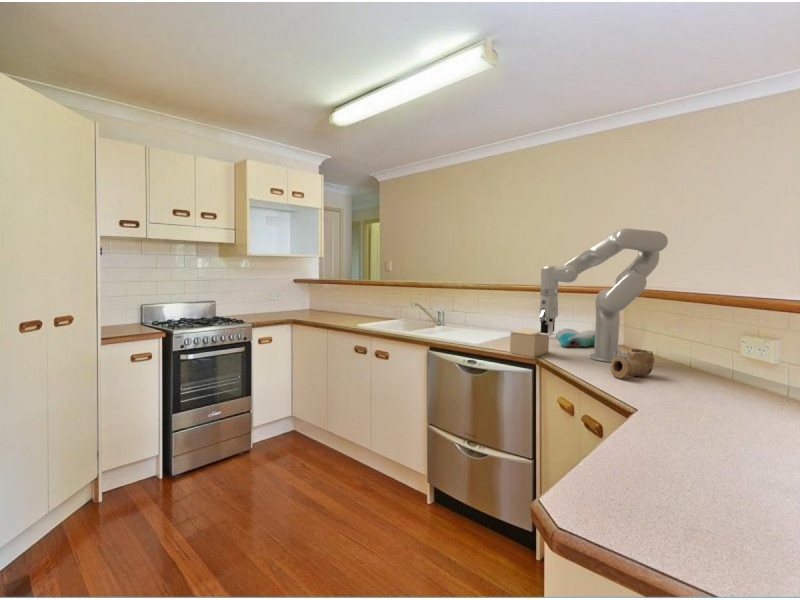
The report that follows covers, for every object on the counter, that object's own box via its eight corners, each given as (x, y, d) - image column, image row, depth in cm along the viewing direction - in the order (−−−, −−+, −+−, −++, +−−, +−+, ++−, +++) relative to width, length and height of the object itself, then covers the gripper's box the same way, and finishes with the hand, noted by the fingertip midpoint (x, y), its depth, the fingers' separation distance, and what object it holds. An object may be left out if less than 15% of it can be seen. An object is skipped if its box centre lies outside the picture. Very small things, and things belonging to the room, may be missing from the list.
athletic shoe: (555, 349, 209) (567, 334, 202) (552, 336, 216) (563, 321, 208) (602, 359, 212) (615, 345, 205) (597, 346, 219) (609, 332, 212)
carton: (548, 352, 196) (549, 332, 195) (533, 357, 185) (534, 336, 185) (525, 348, 205) (525, 329, 204) (510, 353, 194) (510, 333, 193)
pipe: (606, 375, 157) (607, 350, 156) (637, 372, 162) (638, 347, 161) (626, 382, 148) (628, 355, 147) (658, 378, 154) (660, 351, 153)
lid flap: (558, 333, 192) (559, 320, 191) (544, 337, 181) (545, 323, 181) (525, 329, 204) (526, 317, 203) (510, 332, 193) (511, 320, 192)
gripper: (548, 294, 178) (547, 335, 179) (564, 292, 190) (563, 331, 192) (532, 293, 183) (531, 333, 185) (549, 291, 195) (547, 329, 197)
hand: (547, 331), depth 188 cm, fingers open, 5 cm apart
